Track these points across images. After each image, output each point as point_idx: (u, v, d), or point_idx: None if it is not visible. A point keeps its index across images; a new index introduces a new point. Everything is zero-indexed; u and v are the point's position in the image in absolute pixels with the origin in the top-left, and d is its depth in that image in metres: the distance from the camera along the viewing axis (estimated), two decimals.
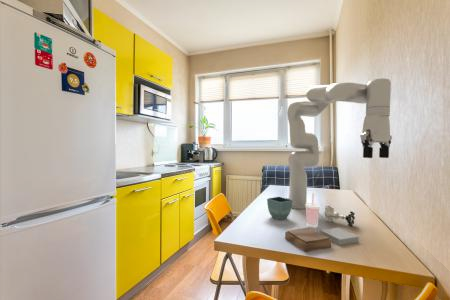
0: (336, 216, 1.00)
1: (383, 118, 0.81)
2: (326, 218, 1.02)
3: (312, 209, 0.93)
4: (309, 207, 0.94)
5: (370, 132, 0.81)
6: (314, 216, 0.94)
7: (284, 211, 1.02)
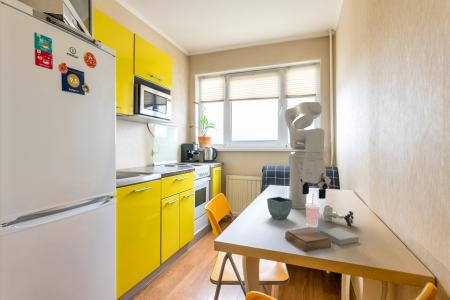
0: (335, 216, 1.00)
1: None
2: (325, 218, 1.03)
3: (312, 209, 0.93)
4: (309, 207, 0.94)
5: None
6: (314, 216, 0.94)
7: (284, 211, 1.02)
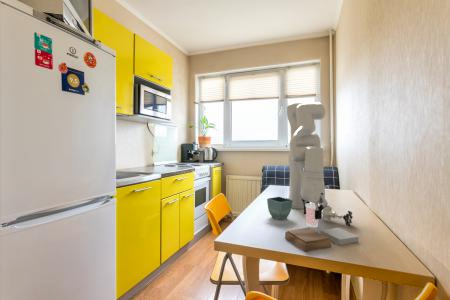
0: (334, 215, 1.00)
1: None
2: (324, 217, 1.03)
3: (312, 209, 0.93)
4: (309, 207, 0.94)
5: (323, 195, 0.91)
6: (314, 216, 0.94)
7: (284, 211, 1.02)
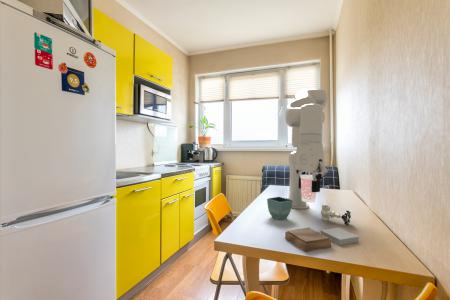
0: (332, 215, 1.01)
1: None
2: (323, 217, 1.04)
3: (308, 180, 0.76)
4: (305, 178, 0.77)
5: (322, 162, 0.74)
6: (311, 188, 0.76)
7: (284, 211, 1.02)
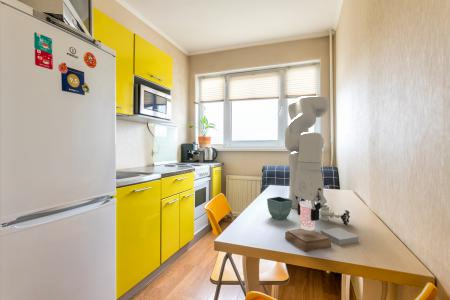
0: (331, 215, 1.01)
1: None
2: (322, 217, 1.04)
3: (308, 208, 0.76)
4: (304, 206, 0.77)
5: (321, 191, 0.74)
6: (310, 217, 0.76)
7: (284, 211, 1.02)
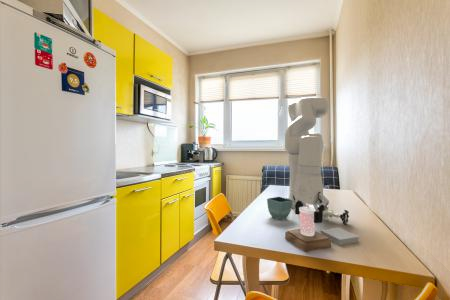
0: (331, 215, 1.01)
1: None
2: None
3: (307, 214, 0.77)
4: (303, 212, 0.77)
5: None
6: (310, 223, 0.77)
7: (284, 211, 1.02)
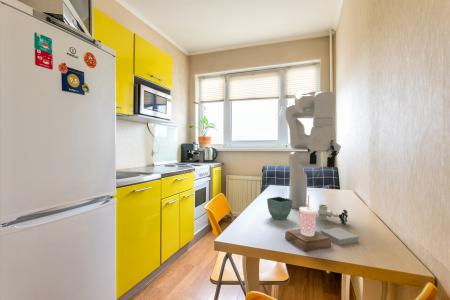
0: (330, 214, 1.02)
1: None
2: (320, 216, 1.05)
3: (307, 214, 0.77)
4: (304, 212, 0.77)
5: None
6: (310, 223, 0.77)
7: (284, 211, 1.02)
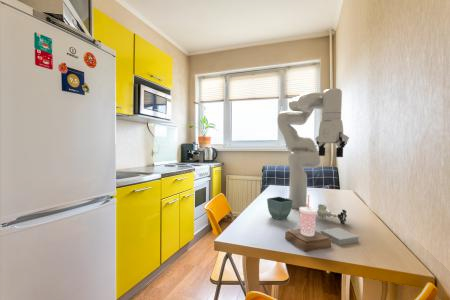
0: (329, 214, 1.02)
1: None
2: (319, 216, 1.05)
3: (307, 214, 0.77)
4: (304, 212, 0.77)
5: None
6: (310, 223, 0.77)
7: (284, 211, 1.02)
